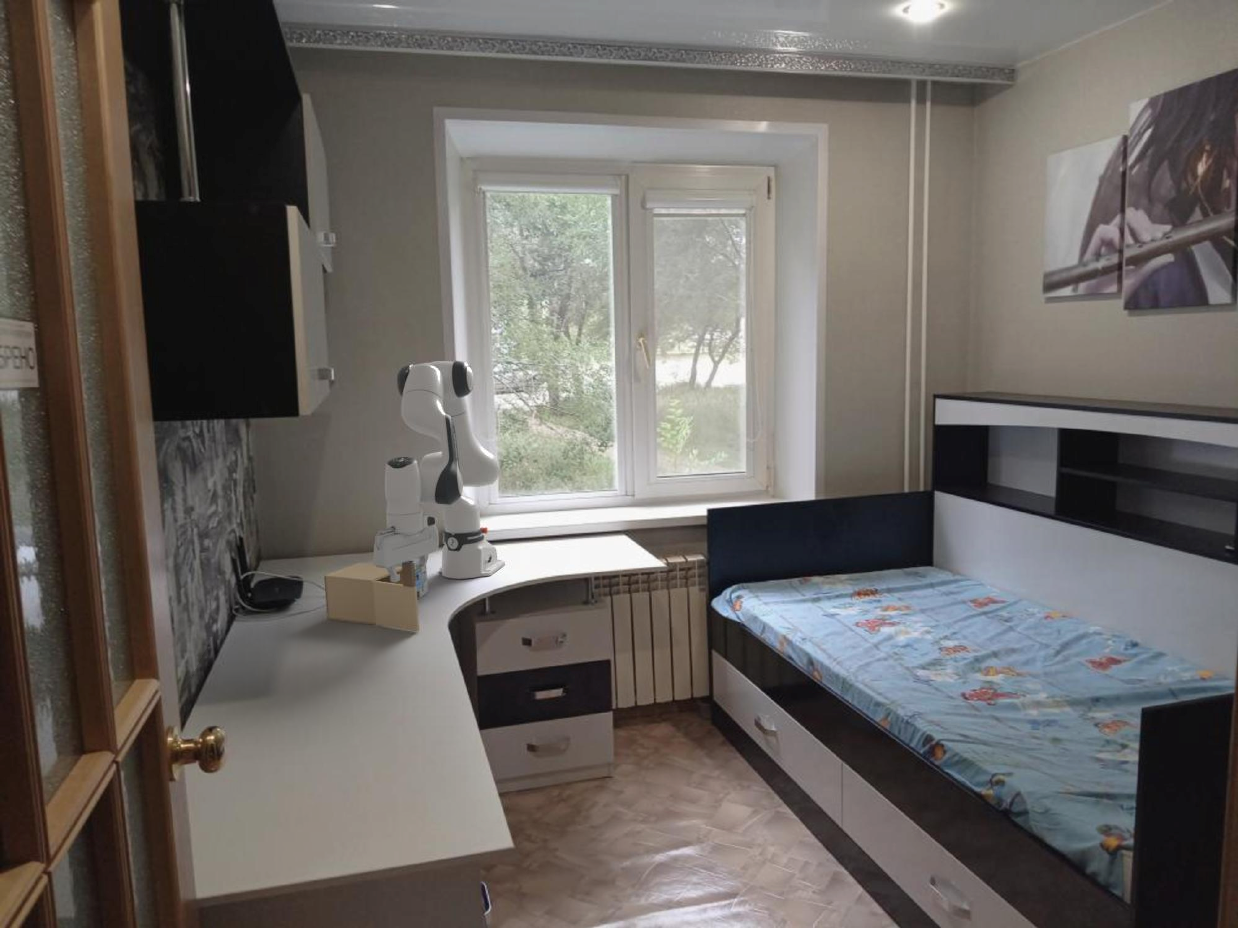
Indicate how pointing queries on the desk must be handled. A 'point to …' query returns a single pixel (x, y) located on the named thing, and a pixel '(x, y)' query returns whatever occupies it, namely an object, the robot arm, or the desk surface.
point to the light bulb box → (419, 579)
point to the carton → (355, 592)
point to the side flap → (397, 601)
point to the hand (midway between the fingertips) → (408, 576)
